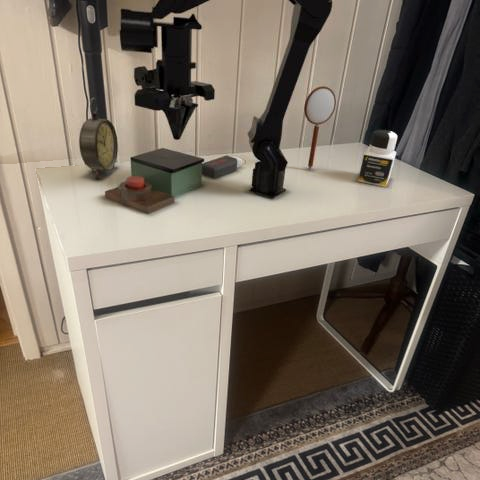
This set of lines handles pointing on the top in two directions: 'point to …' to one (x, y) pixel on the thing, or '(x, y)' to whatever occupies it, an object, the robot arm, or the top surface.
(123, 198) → the control block
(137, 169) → the cooker
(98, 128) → the alarm clock
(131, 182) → the button
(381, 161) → the medicine bottle
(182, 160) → the cooker lid
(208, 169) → the usb drive
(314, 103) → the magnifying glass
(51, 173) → the top surface
